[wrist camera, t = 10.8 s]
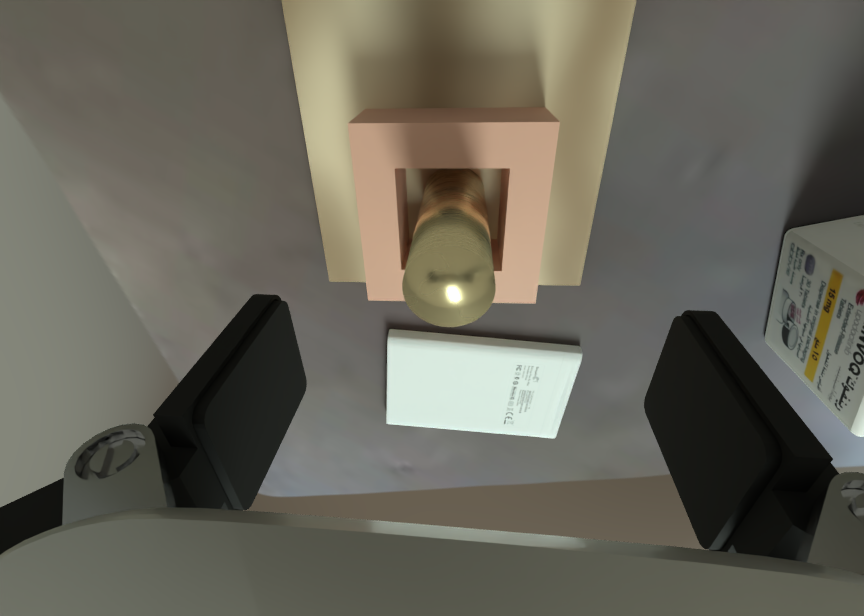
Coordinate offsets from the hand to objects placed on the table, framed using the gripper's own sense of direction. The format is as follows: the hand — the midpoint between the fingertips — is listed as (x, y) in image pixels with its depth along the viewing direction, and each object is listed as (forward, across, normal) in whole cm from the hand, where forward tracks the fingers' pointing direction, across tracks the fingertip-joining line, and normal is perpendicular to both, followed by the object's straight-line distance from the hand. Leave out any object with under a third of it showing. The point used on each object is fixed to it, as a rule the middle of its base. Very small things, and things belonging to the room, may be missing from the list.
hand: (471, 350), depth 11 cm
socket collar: (+12, +1, 0) cm, 12 cm away
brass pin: (+12, +1, 0) cm, 12 cm away
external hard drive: (+15, 0, +14) cm, 21 cm away
